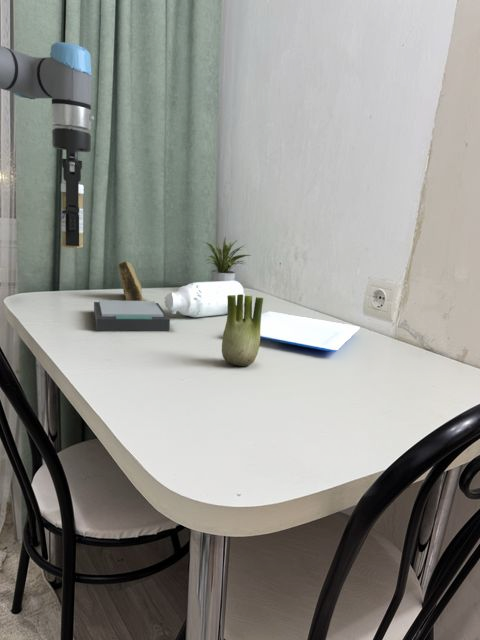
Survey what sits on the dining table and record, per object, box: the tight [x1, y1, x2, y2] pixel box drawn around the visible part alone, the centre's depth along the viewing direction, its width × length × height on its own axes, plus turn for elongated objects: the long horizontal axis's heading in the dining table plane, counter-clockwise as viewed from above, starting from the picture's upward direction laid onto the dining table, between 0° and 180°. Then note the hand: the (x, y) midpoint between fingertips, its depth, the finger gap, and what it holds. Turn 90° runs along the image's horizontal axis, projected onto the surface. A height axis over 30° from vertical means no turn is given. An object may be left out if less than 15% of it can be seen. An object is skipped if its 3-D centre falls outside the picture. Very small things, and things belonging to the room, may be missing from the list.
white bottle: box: [164, 279, 246, 319], centre depth 117 cm, size 8×19×8 cm, turn 132°
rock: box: [118, 260, 144, 301], centre depth 129 cm, size 11×9×10 cm
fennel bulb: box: [221, 294, 264, 367], centre depth 84 cm, size 6×5×12 cm
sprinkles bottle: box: [60, 182, 85, 249], centre depth 109 cm, size 5×5×14 cm
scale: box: [93, 299, 171, 332], centre depth 107 cm, size 16×14×3 cm
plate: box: [252, 310, 361, 353], centre depth 106 cm, size 22×22×2 cm
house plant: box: [204, 236, 251, 282], centre depth 146 cm, size 14×14×16 cm
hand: (72, 244), depth 111 cm, fingers closed on sprinkles bottle, 4 cm apart
